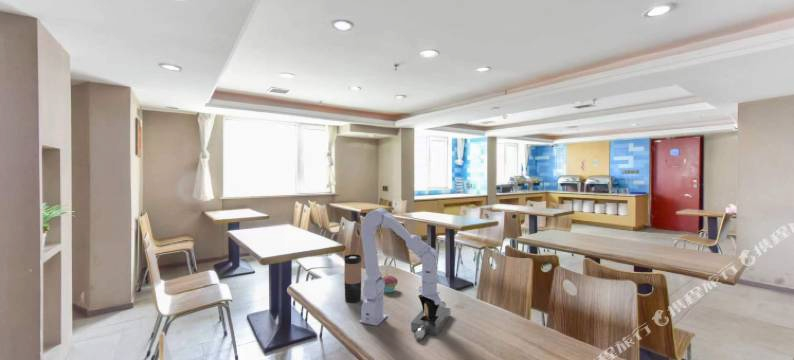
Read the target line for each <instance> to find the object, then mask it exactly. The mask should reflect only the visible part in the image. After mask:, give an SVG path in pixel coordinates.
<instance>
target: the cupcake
mask: <svg viewBox="0 0 794 360" xmlns="http://www.w3.org/2000/svg"><path fill="white" fill-rule="evenodd" d="M388 274H389V272H388V269H387V268H385V275H386V276H382V278H383V280H384V281H385V288H384V290H383V291H384V292H385V293H388V294H389V293H393V292H394V291H395V288H396V286H397V285H398V279H397V278H396V277H394V276H393V275H388Z"/></svg>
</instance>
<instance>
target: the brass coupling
mask: <svg viewBox="0 0 794 360" xmlns="http://www.w3.org/2000/svg"><path fill="white" fill-rule="evenodd" d="M424 321H428V322H433V323H434V322H435V319H431V320H430V319H429V316H428V308H427V305H426V303H424Z"/></svg>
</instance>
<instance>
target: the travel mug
mask: <svg viewBox="0 0 794 360" xmlns="http://www.w3.org/2000/svg"><path fill="white" fill-rule="evenodd" d="M343 275H344V278H343V279H344V282H343V283H344V299H345V300H344V301H345V302H346V303H350V304H354V303H359V302H360V301H361V300H362V256H361V255H360V254H354V253H353V254H348V255H344V274H343Z"/></svg>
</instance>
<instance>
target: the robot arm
mask: <svg viewBox="0 0 794 360" xmlns="http://www.w3.org/2000/svg"><path fill="white" fill-rule="evenodd" d="M380 226H381V228H387V229H390V230H391V231H393V232H394V233H395V234H397V235H398V236H399V237H401V239H403V240H404V241H405V246H406V247H407V248H408V249H409V250H410V251H411V252H412V253H413V254H415V256H417V258H419V261H420V264H421V266H422V267H421V286H418V292H419V293H420V294H419V295H418V299H419V301H420V303H421V306H422V310H423V312H424V303H426V305H427V308H428V316H429V319H430V320H431V319H435V316H436V312H437V309H438V307H439V305H440V304H441V301H442V299H441V298H440V296H439V295H440V291H439V290H438V268H437V267H438V264H437V261H438V259H439V253H438V251H437V250H436V249H435V248H434V247H432V246H431V245H430V244H429V245H428V244H427V243H426V242H425V241H424V240H423V239H422V236H420V235H419V236H418V235H417V234H412V233H411V232H409V230H408V229H407V228H406V227H404V225H402V223H401V222H400V221H399V220H398V219H397V218H396V217H395V216H394V215H393V213H391V212H390V211H389V210H388V209H387V208H385V207H379V208H376V209H372V210H370V211H369V212H368V213H367V214H366V215H365V216H364V220H363V223H362V225H361V228H360V236H361V243H362V251H363V259H364V266H365V267H364V268H365V277H364V281H363V289H362V293H363V296H364V298H365V299H364V302H363V303H362V304H361V308H360V314H361V315H360V318H361V319H360V320H359V321H358V322H359V323H362V324H366V325H367V324H368V325H372V326H378V325H379V324H381V323H382V322H383V321H384V320H385V319H386V318H387V317H388V314H384V292H383V291H384V288H385V281H384V280H383V274H382V272H381V271H380V267H379V266H380V265H379V258H378V251H377V243H376V233H375V232H376V231H377V230H378V229H379V228H380Z"/></svg>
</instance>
